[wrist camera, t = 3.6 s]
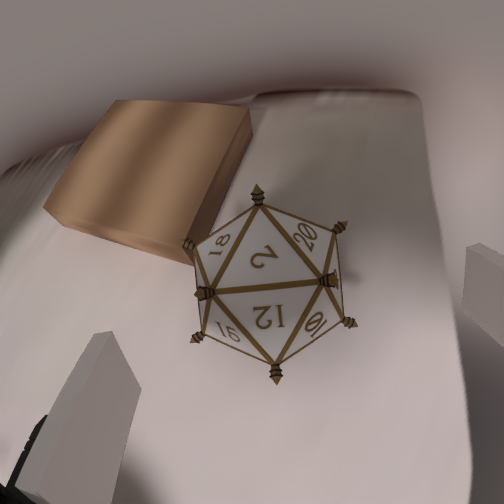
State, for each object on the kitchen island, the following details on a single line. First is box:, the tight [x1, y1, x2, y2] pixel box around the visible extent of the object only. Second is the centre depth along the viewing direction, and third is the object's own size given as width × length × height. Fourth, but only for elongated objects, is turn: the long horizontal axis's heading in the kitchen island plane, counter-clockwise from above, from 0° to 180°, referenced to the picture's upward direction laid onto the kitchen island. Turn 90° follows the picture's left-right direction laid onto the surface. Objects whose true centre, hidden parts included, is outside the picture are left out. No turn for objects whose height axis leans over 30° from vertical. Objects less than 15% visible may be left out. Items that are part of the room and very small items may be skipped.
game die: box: [179, 184, 358, 385], centre depth 16 cm, size 9×8×10 cm
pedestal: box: [43, 100, 253, 266], centre depth 23 cm, size 13×12×3 cm
